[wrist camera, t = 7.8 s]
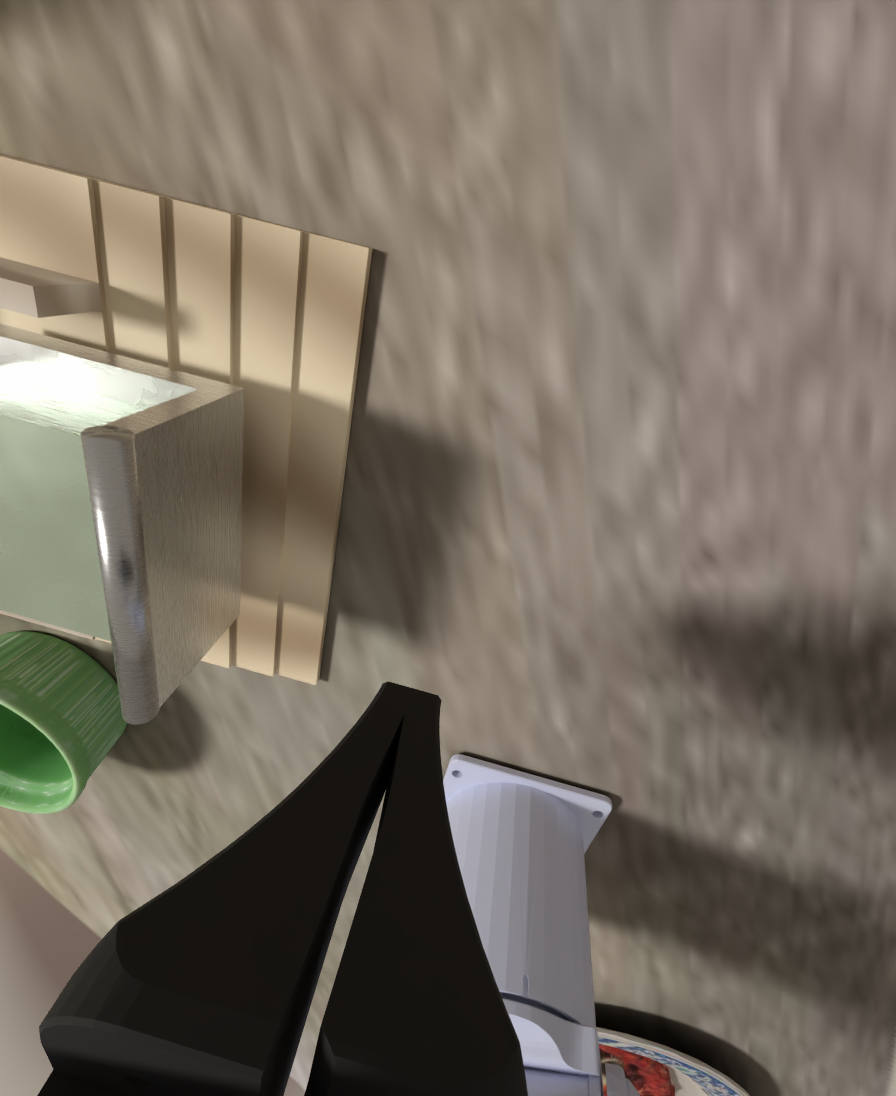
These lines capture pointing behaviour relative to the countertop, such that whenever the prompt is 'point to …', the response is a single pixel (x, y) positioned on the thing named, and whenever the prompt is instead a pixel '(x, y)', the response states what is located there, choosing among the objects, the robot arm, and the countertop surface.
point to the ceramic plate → (661, 1068)
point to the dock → (212, 362)
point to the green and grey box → (120, 506)
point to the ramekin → (52, 721)
